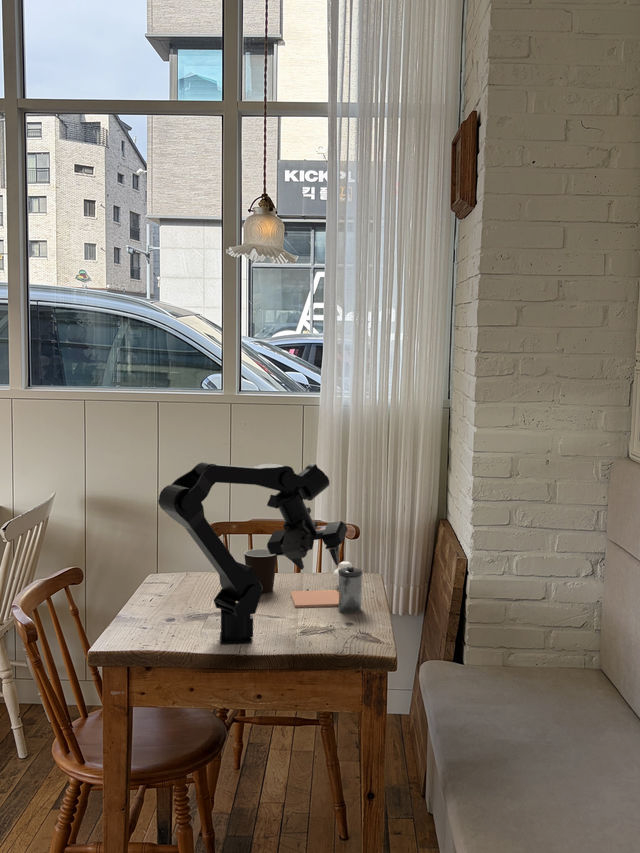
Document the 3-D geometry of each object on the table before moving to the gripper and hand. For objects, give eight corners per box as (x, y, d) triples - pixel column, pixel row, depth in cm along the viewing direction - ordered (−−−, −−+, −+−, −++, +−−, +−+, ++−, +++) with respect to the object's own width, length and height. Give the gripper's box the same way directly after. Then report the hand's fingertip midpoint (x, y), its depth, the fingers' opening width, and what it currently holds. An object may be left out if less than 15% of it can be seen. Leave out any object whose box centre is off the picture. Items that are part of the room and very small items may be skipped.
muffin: (357, 584, 223) (357, 558, 223) (355, 590, 217) (356, 564, 217) (334, 583, 224) (334, 557, 223) (332, 589, 218) (332, 563, 217)
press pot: (339, 613, 197) (340, 570, 196) (336, 606, 203) (336, 564, 202) (363, 613, 198) (364, 570, 197) (359, 605, 204) (360, 564, 203)
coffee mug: (272, 596, 211) (272, 557, 210) (239, 594, 213) (239, 555, 212) (283, 584, 223) (283, 547, 222) (252, 582, 224) (252, 545, 223)
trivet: (295, 607, 202) (295, 605, 202) (290, 593, 214) (290, 591, 214) (343, 606, 203) (343, 603, 203) (336, 592, 215) (336, 590, 215)
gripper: (246, 539, 185) (274, 593, 191) (321, 528, 177) (347, 585, 183) (264, 510, 194) (289, 562, 200) (335, 498, 186) (359, 553, 192)
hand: (320, 566), depth 193 cm, fingers open, 9 cm apart
